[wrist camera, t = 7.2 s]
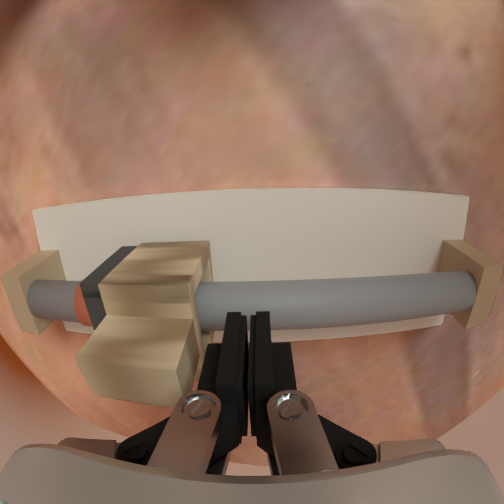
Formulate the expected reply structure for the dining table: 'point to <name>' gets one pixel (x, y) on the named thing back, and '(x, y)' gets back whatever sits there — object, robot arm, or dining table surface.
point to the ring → (93, 279)
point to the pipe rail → (275, 259)
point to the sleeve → (150, 325)
